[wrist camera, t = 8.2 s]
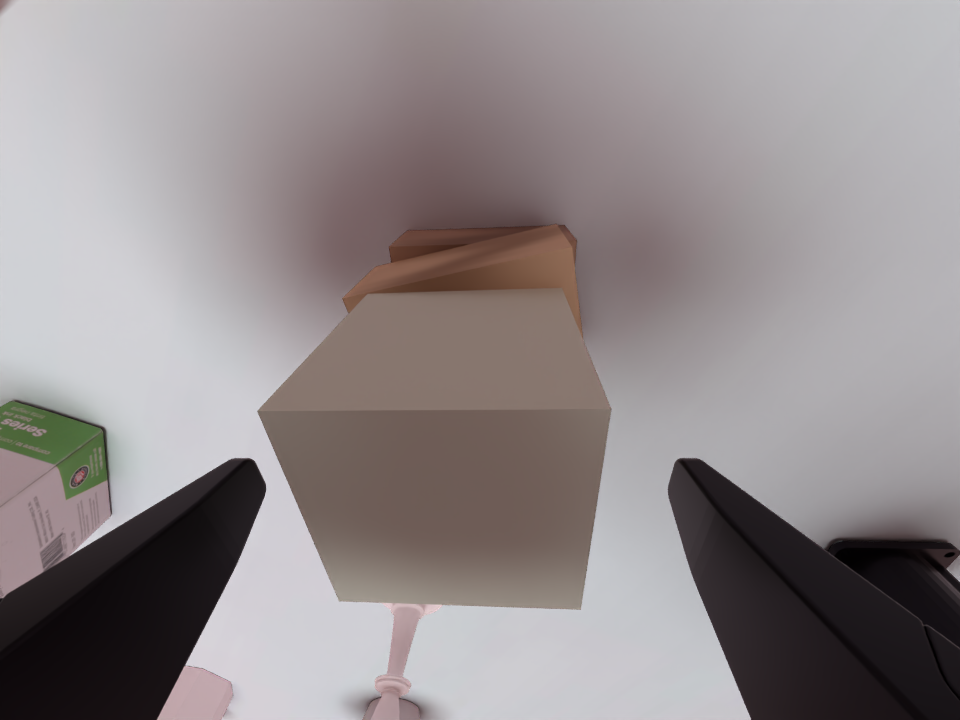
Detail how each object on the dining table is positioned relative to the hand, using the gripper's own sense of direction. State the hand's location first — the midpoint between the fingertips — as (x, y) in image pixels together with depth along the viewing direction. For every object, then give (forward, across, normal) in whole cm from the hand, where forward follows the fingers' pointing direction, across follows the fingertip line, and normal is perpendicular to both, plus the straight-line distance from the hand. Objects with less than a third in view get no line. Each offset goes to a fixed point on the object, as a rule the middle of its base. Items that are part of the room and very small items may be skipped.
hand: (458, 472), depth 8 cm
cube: (+3, 0, 0) cm, 3 cm away
